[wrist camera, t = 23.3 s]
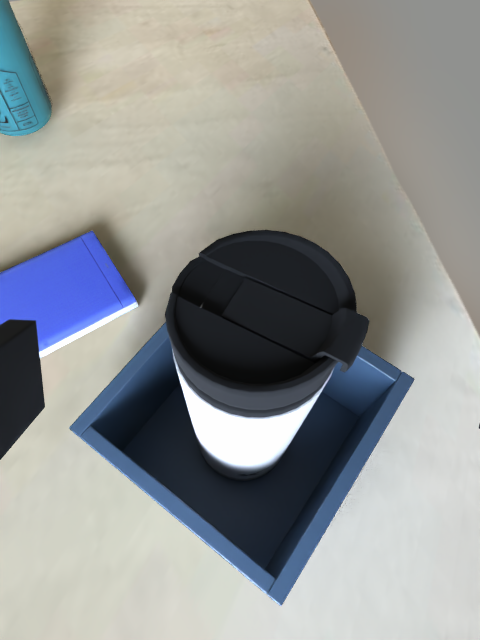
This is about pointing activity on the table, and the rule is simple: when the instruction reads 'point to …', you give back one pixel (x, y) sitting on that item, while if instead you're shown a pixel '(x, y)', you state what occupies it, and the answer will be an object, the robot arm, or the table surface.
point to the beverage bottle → (19, 81)
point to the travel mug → (259, 343)
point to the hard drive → (65, 292)
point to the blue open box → (252, 495)
